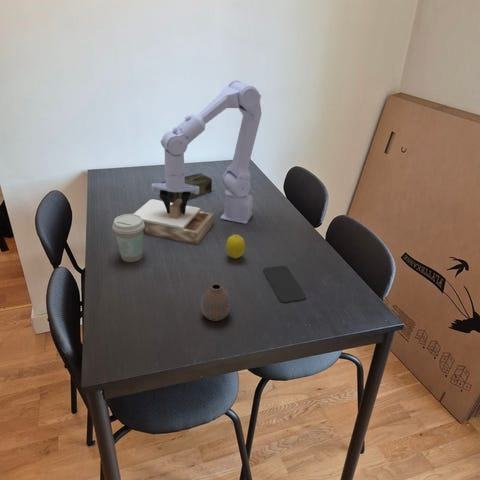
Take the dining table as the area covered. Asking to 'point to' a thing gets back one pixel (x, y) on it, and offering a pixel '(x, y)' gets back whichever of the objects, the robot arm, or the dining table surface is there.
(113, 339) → the dining table surface
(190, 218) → the lid
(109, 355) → the dining table surface
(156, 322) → the dining table surface
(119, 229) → the coffee cup
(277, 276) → the phone
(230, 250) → the lemon
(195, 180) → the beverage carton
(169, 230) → the box
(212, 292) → the vase
